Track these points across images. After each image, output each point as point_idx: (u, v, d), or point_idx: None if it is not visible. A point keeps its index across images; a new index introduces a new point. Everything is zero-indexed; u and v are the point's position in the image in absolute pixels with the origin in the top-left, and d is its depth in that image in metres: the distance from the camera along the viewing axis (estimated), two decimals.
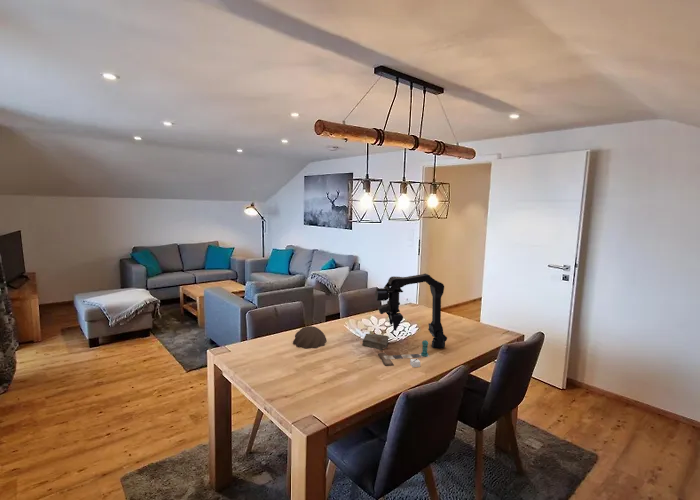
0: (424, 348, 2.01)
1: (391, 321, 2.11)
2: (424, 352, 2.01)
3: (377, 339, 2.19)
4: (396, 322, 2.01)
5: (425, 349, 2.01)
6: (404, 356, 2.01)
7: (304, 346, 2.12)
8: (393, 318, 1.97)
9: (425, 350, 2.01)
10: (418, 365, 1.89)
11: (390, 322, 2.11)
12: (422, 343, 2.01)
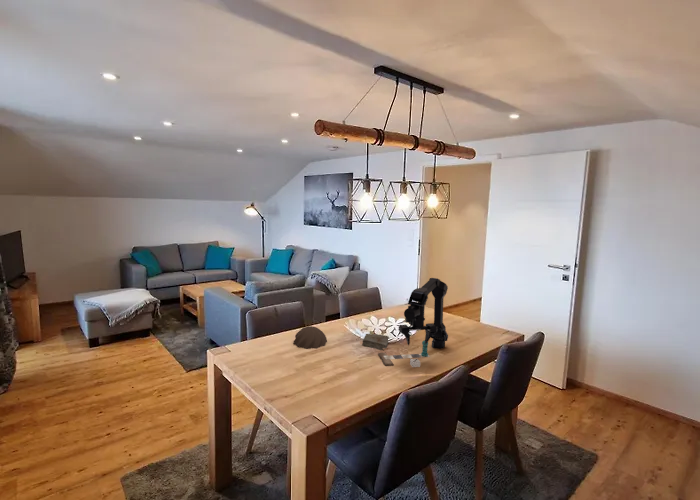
0: (424, 348, 2.01)
1: (425, 340, 1.91)
2: (424, 352, 2.01)
3: (377, 339, 2.19)
4: None
5: (425, 349, 2.01)
6: (404, 356, 2.01)
7: (305, 346, 2.12)
8: None
9: (425, 350, 2.01)
10: (418, 365, 1.89)
11: (425, 341, 1.91)
12: (422, 343, 2.01)
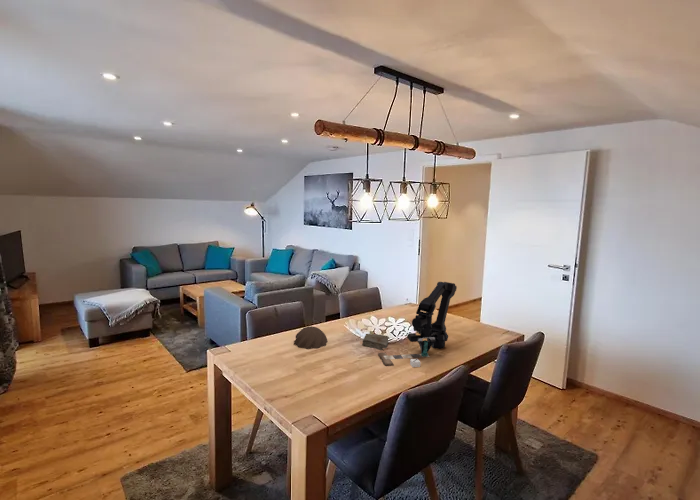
0: (424, 348, 2.01)
1: (427, 348, 2.02)
2: (424, 352, 2.01)
3: (377, 339, 2.19)
4: (420, 344, 2.01)
5: (425, 349, 2.01)
6: (404, 356, 2.01)
7: (306, 346, 2.12)
8: (407, 336, 2.02)
9: (425, 350, 2.01)
10: (418, 365, 1.89)
11: None
12: None
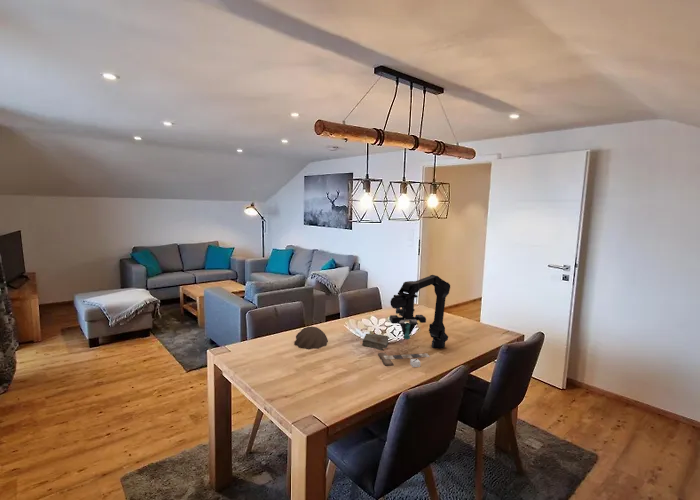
0: (406, 330, 1.97)
1: (409, 331, 1.99)
2: (406, 335, 1.98)
3: (377, 339, 2.19)
4: None
5: (407, 331, 1.97)
6: (404, 356, 2.01)
7: (306, 347, 2.12)
8: (389, 318, 1.98)
9: (407, 332, 1.97)
10: (418, 365, 1.89)
11: None
12: None
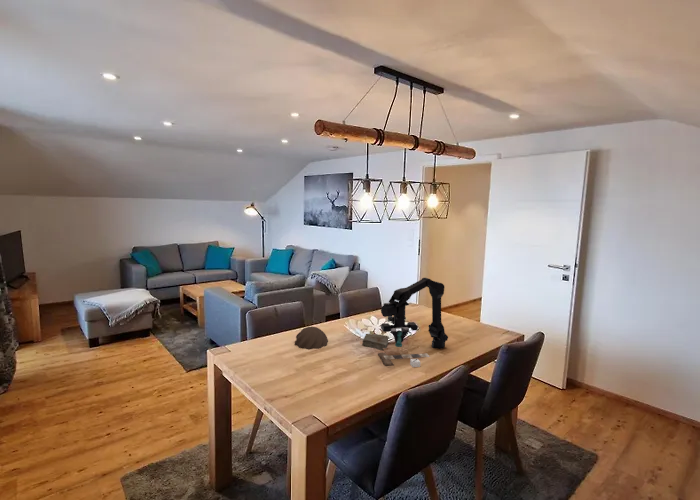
0: (398, 338, 1.97)
1: (401, 338, 1.99)
2: (398, 342, 1.98)
3: (377, 339, 2.19)
4: (394, 334, 1.97)
5: (399, 339, 1.97)
6: (404, 356, 2.01)
7: (307, 347, 2.11)
8: (381, 326, 1.98)
9: (399, 340, 1.98)
10: (418, 365, 1.88)
11: None
12: None
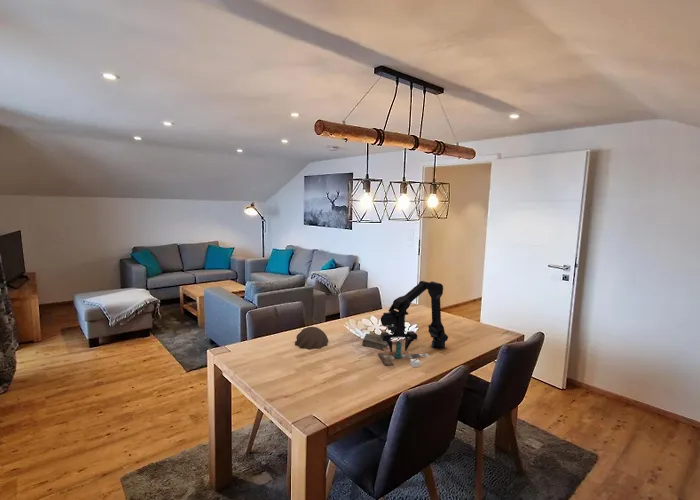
0: (397, 350, 1.98)
1: (405, 347, 2.00)
2: (397, 354, 1.98)
3: (377, 339, 2.19)
4: (389, 343, 1.98)
5: (398, 351, 1.98)
6: (404, 356, 2.01)
7: (307, 347, 2.11)
8: None
9: (398, 352, 1.98)
10: (418, 365, 1.88)
11: None
12: (396, 344, 1.98)
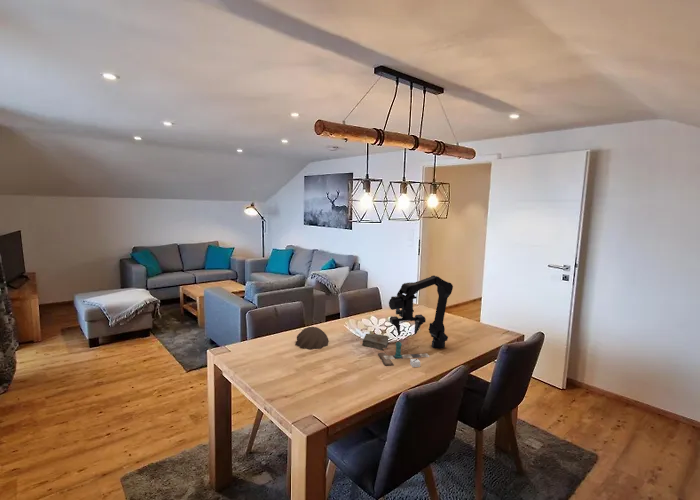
0: (397, 350, 1.98)
1: (415, 330, 2.04)
2: (397, 354, 1.99)
3: (377, 339, 2.19)
4: (397, 327, 2.01)
5: (398, 351, 1.98)
6: (404, 356, 2.01)
7: (308, 347, 2.11)
8: (389, 320, 2.03)
9: (398, 352, 1.98)
10: (418, 365, 1.88)
11: (414, 331, 2.05)
12: (396, 344, 1.99)
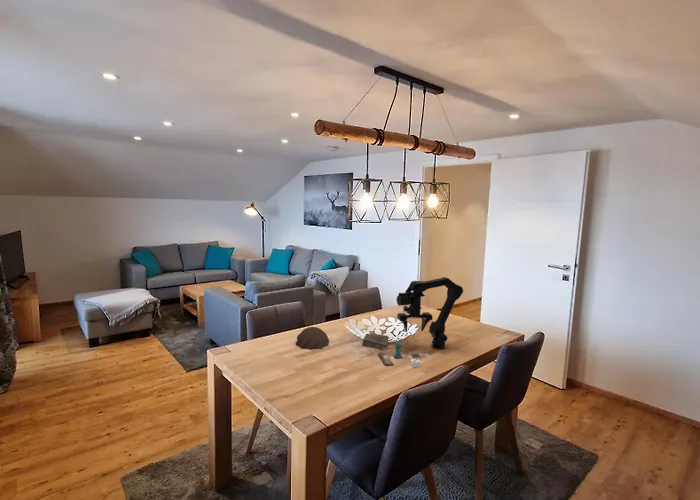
0: (397, 350, 1.98)
1: (422, 327, 2.09)
2: (397, 354, 1.99)
3: (377, 339, 2.19)
4: (404, 323, 2.06)
5: (398, 351, 1.98)
6: (404, 356, 2.01)
7: (309, 347, 2.11)
8: (397, 316, 2.08)
9: (398, 352, 1.98)
10: (418, 365, 1.88)
11: (421, 328, 2.09)
12: (395, 344, 1.99)
